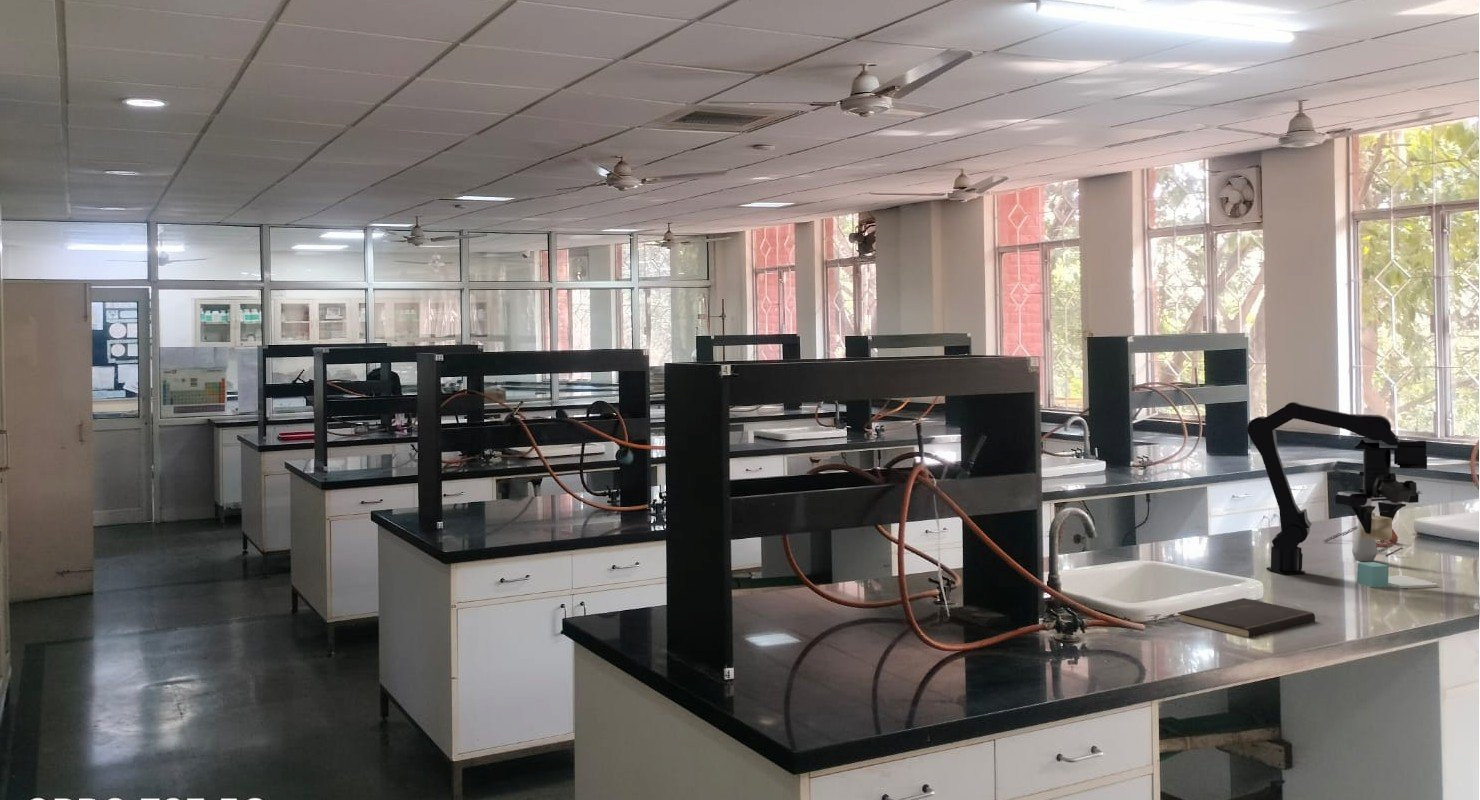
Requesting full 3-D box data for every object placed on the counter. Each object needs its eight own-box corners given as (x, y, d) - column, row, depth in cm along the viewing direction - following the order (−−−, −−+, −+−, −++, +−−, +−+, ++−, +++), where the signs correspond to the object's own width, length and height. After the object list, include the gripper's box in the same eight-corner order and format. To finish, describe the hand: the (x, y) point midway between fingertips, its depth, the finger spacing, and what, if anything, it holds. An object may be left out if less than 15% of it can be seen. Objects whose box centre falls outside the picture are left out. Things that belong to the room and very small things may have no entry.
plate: (1401, 588, 259) (1401, 586, 259) (1368, 579, 269) (1369, 577, 269) (1438, 586, 261) (1438, 584, 261) (1404, 577, 271) (1404, 575, 271)
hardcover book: (1177, 623, 230) (1177, 612, 230) (1243, 608, 243) (1243, 597, 243) (1249, 640, 217) (1249, 629, 217) (1315, 624, 229) (1315, 613, 229)
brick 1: (1375, 540, 264) (1375, 519, 264) (1361, 537, 269) (1361, 516, 268) (1391, 539, 265) (1392, 518, 265) (1377, 536, 270) (1377, 515, 269)
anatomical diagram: (1368, 513, 323) (1434, 524, 298) (1379, 540, 324) (1446, 554, 299) (1309, 542, 320) (1370, 556, 296) (1319, 570, 321) (1382, 586, 296)
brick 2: (1371, 587, 260) (1372, 566, 260) (1357, 583, 265) (1357, 562, 265) (1388, 586, 261) (1388, 565, 261) (1373, 582, 266) (1373, 562, 266)
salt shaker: (1375, 563, 288) (1376, 513, 287) (1350, 560, 291) (1351, 511, 290) (1378, 560, 292) (1380, 510, 292) (1353, 557, 296) (1355, 508, 295)
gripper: (1369, 473, 256) (1368, 540, 257) (1437, 469, 260) (1437, 536, 261) (1333, 468, 267) (1333, 533, 268) (1400, 465, 271) (1399, 529, 272)
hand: (1376, 533), depth 267 cm, fingers closed on brick 1, 4 cm apart
